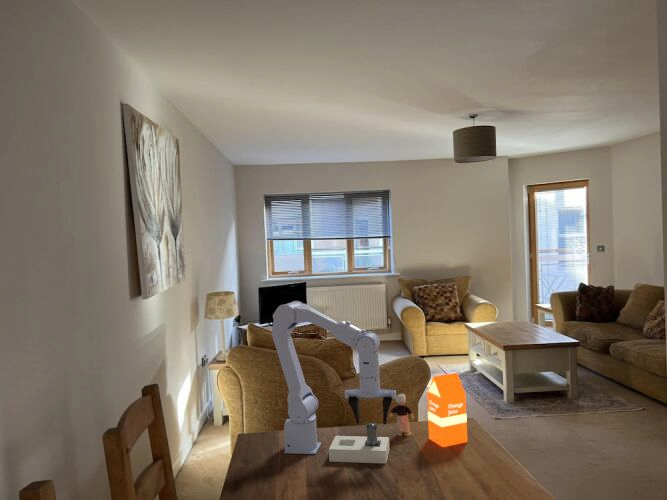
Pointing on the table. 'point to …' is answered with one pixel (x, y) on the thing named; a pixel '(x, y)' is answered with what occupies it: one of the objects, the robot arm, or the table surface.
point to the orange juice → (447, 410)
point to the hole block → (358, 450)
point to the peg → (372, 434)
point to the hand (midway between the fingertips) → (371, 422)
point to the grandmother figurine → (402, 415)
